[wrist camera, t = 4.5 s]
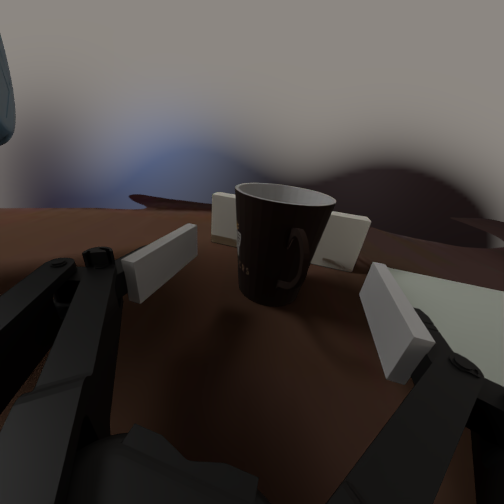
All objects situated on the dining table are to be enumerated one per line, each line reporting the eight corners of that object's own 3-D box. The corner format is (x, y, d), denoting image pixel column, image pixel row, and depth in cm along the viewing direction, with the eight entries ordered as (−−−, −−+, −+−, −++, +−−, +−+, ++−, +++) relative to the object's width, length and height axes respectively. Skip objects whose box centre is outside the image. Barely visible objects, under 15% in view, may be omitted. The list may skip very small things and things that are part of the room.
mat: (423, 368, 15) (426, 365, 15) (370, 266, 29) (371, 264, 29) (721, 452, 12) (728, 449, 12) (504, 294, 26) (506, 292, 26)
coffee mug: (246, 259, 27) (255, 180, 23) (312, 278, 25) (337, 193, 20) (193, 315, 17) (191, 196, 13) (294, 356, 15) (334, 227, 11)
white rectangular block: (211, 241, 31) (212, 194, 28) (221, 232, 34) (223, 189, 31) (351, 272, 27) (371, 221, 24) (347, 259, 31) (363, 213, 28)
